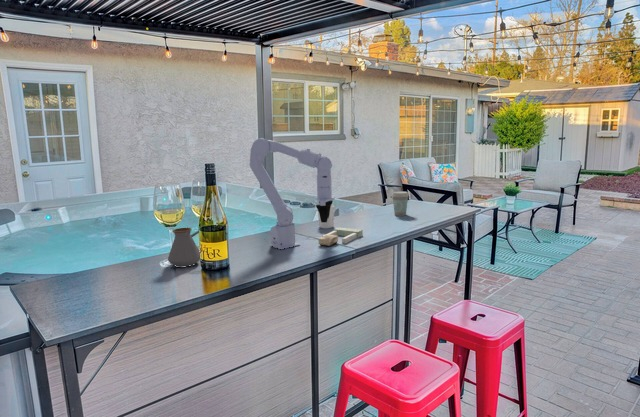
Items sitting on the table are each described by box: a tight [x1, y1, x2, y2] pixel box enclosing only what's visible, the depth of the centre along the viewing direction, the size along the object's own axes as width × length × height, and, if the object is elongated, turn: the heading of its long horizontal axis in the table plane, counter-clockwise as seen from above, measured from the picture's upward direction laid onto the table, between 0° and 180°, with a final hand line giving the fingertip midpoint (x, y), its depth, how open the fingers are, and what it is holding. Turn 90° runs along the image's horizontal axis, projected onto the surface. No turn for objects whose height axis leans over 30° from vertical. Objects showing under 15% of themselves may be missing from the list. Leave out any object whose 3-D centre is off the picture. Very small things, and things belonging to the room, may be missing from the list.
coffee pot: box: [167, 227, 201, 266], centre depth 154 cm, size 21×12×15 cm, turn 128°
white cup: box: [317, 204, 335, 229], centre depth 202 cm, size 8×8×10 cm
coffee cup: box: [391, 190, 409, 217], centre depth 223 cm, size 8×8×12 cm
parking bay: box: [321, 227, 363, 244], centre depth 181 cm, size 14×12×2 cm
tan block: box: [318, 234, 339, 248], centre depth 172 cm, size 7×5×3 cm
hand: (325, 220), depth 172 cm, fingers open, 7 cm apart
